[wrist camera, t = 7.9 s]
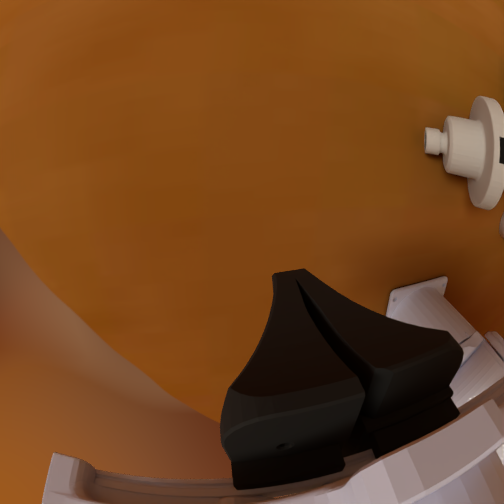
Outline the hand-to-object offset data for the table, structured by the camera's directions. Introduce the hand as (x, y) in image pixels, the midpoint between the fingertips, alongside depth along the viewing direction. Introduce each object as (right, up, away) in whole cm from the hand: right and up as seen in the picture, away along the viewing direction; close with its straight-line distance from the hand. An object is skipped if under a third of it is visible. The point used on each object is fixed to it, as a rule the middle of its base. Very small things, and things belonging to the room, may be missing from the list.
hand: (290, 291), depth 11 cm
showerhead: (+12, +11, +7) cm, 18 cm away
